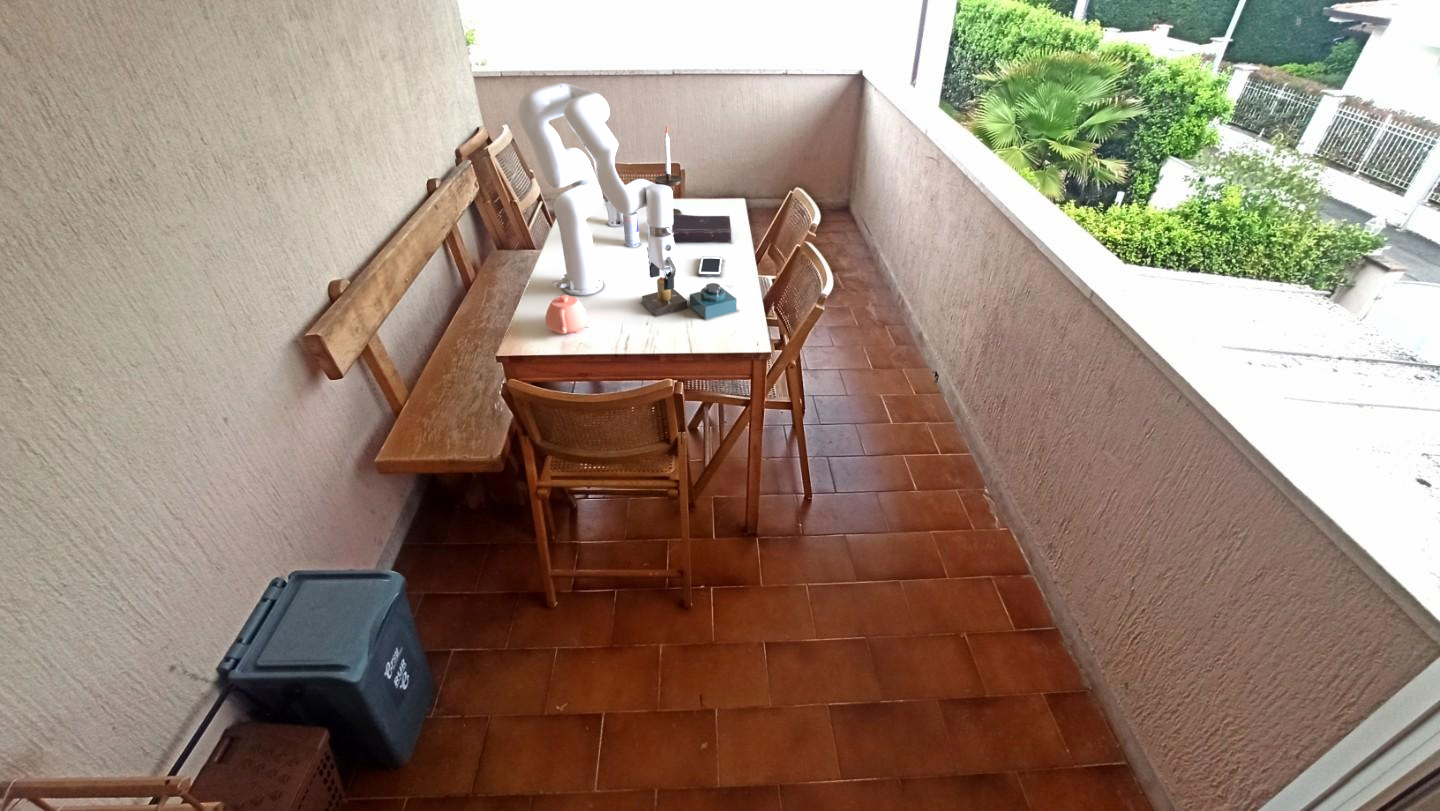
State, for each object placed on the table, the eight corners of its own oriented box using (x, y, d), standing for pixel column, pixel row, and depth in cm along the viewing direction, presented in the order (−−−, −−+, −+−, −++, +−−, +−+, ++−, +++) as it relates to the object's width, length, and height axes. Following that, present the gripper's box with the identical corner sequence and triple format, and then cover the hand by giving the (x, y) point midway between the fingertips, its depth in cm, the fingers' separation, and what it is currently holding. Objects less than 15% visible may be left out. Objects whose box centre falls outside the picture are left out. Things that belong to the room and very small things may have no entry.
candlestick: (672, 207, 274) (669, 120, 253) (688, 214, 267) (685, 125, 246) (651, 213, 268) (646, 124, 248) (666, 220, 261) (662, 129, 241)
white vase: (604, 222, 260) (600, 184, 251) (621, 219, 262) (617, 182, 253) (609, 228, 255) (606, 190, 246) (626, 225, 257) (623, 187, 248)
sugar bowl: (591, 317, 195) (587, 286, 189) (585, 340, 184) (581, 308, 178) (551, 317, 195) (546, 287, 189) (542, 341, 184) (536, 309, 178)
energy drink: (640, 242, 243) (638, 211, 236) (638, 247, 239) (635, 216, 232) (627, 241, 244) (624, 210, 237) (623, 247, 239) (621, 215, 232)
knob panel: (656, 316, 196) (655, 308, 195) (642, 303, 203) (641, 295, 202) (687, 307, 201) (687, 300, 199) (673, 295, 208) (672, 287, 206)
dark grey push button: (710, 296, 195) (710, 290, 193) (703, 291, 198) (703, 285, 196) (722, 293, 196) (722, 287, 195) (715, 287, 199) (715, 281, 198)
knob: (673, 299, 200) (672, 280, 196) (661, 302, 198) (660, 283, 194) (667, 294, 203) (666, 275, 199) (655, 297, 201) (654, 278, 197)
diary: (731, 244, 242) (731, 231, 239) (664, 244, 241) (664, 231, 238) (729, 226, 257) (729, 213, 254) (666, 226, 256) (666, 214, 254)
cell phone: (698, 276, 219) (698, 273, 218) (701, 258, 231) (701, 256, 230) (720, 277, 218) (720, 274, 218) (722, 259, 230) (722, 256, 230)
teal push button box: (705, 319, 195) (705, 301, 191) (689, 306, 202) (689, 288, 198) (736, 311, 199) (736, 293, 196) (719, 298, 206) (720, 281, 202)
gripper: (685, 237, 183) (685, 291, 193) (658, 217, 195) (660, 269, 205) (662, 242, 180) (663, 297, 190) (636, 221, 192) (638, 274, 202)
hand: (661, 282), depth 198 cm, fingers open, 9 cm apart
